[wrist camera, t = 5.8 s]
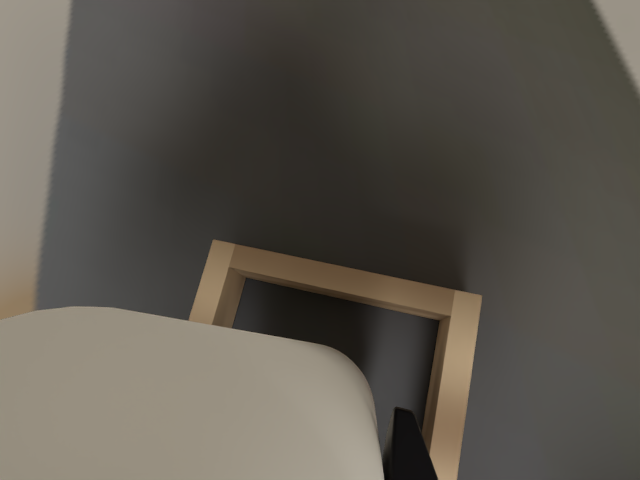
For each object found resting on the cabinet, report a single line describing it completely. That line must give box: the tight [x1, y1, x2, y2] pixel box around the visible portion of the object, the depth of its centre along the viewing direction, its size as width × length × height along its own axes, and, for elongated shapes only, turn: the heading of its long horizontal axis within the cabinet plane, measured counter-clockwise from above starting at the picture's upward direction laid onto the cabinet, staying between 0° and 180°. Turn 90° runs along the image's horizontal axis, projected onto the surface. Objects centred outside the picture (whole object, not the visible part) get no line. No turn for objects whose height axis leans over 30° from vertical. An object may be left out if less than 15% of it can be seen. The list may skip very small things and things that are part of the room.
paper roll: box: [0, 306, 384, 480], centre depth 9 cm, size 5×5×13 cm
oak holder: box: [189, 239, 482, 480], centre depth 16 cm, size 11×11×2 cm
